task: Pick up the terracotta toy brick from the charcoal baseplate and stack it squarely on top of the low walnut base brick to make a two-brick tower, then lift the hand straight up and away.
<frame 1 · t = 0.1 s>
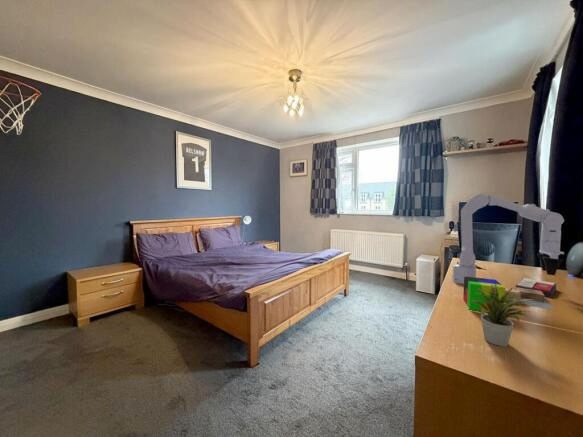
hand: (548, 272, 102), 10 cm above the table, tool pointing down, fingers open, 7 cm apart
puzzle toy: (482, 308, 91), on the table
terracotta brick: (509, 299, 97), resting on baseplate
house plant: (495, 343, 68), on the table
baseplate: (513, 298, 100), on the table
walnut base brick: (528, 296, 100), resting on baseplate
calculator: (535, 292, 108), on the table
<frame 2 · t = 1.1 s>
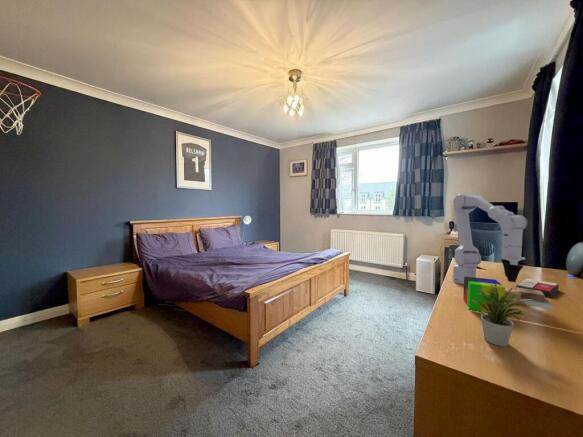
hand: (510, 279, 97), 9 cm above the table, tool pointing down, fingers open, 7 cm apart
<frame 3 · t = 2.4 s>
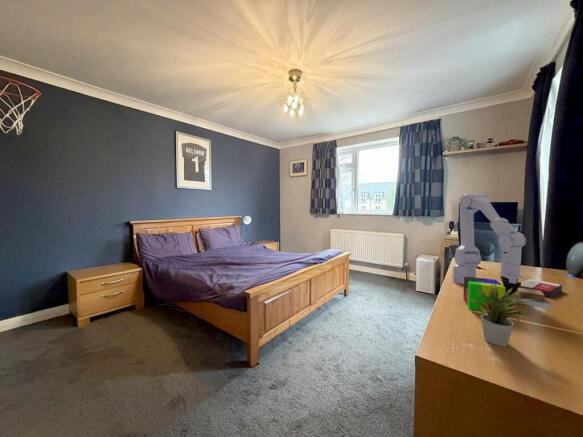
hand: (509, 296, 97), 2 cm above the table, tool pointing down, fingers closed on terracotta brick, 4 cm apart
terracotta brick: (509, 299, 97), resting on baseplate, touching gripper
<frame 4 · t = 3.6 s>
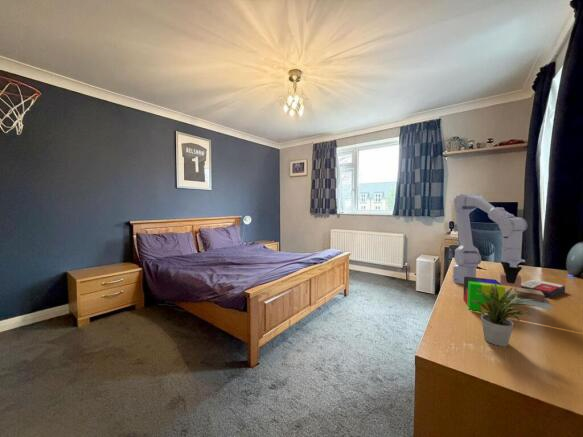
hand: (509, 281, 97), 8 cm above the table, tool pointing down, fingers closed on terracotta brick, 4 cm apart
terracotta brick: (509, 284, 97), point 7 cm above the table, touching gripper
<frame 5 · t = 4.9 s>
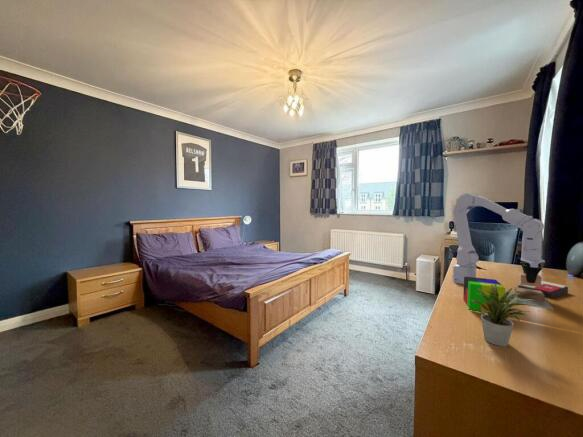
hand: (529, 281, 100), 7 cm above the table, tool pointing down, fingers closed on terracotta brick, 4 cm apart
terracotta brick: (529, 284, 100), point 6 cm above the table, touching gripper
when the fingers open (6 cm above the table, at t = 5.5 s): terracotta brick drops 1 cm, resting on walnut base brick.
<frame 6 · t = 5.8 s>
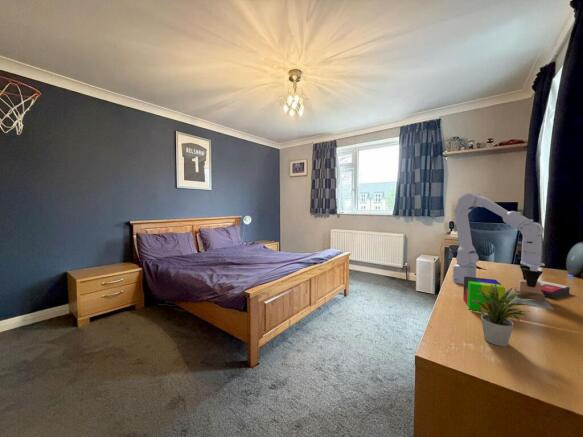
hand: (529, 284, 100), 6 cm above the table, tool pointing down, fingers open, 6 cm apart
terracotta brick: (529, 290, 100), point 3 cm above the table, touching walnut base brick
walnut base brick: (528, 296, 100), resting on baseplate, touching terracotta brick
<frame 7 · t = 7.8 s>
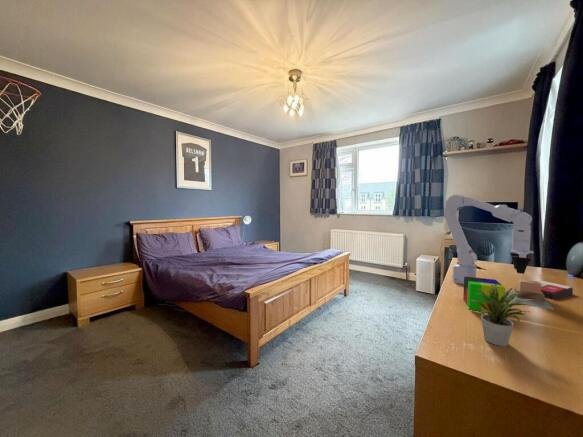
hand: (519, 271, 105), 10 cm above the table, tool pointing down, fingers open, 7 cm apart
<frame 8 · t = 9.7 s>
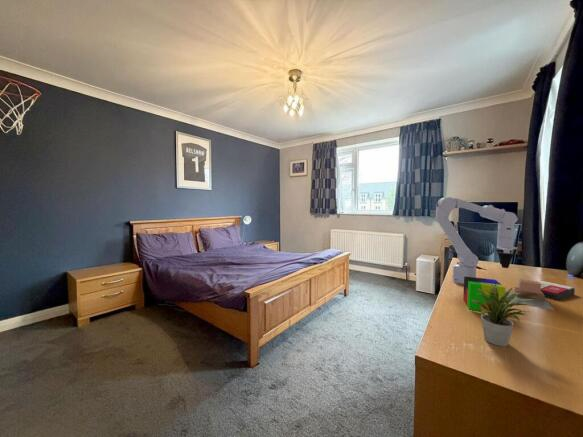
hand: (504, 266, 114), 10 cm above the table, tool pointing down, fingers open, 7 cm apart
at the end: terracotta brick 0.1 cm off-centre on the walnut base brick, point 2.5 cm above the walnut base brick's base; terracotta brick tilted 0°; the gripper is holding nothing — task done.
